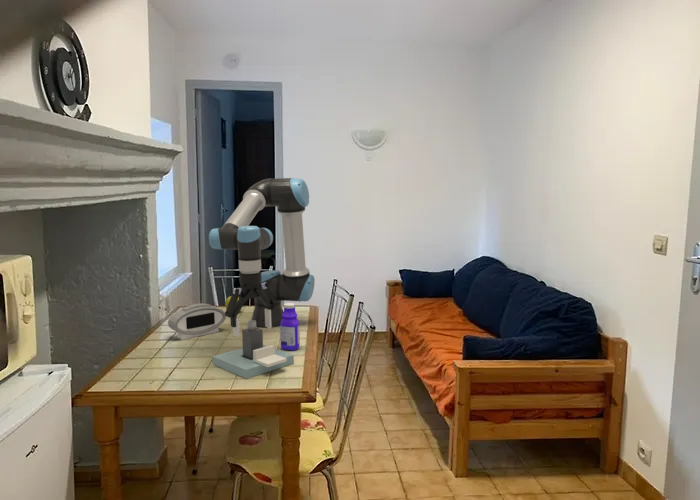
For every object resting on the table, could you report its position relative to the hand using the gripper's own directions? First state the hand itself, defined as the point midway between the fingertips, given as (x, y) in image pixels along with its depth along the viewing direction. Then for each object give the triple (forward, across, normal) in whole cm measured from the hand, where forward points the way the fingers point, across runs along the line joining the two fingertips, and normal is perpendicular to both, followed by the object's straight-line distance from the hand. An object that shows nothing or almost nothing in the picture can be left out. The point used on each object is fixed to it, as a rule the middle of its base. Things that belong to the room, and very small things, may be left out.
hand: (252, 331), depth 193 cm
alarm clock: (+12, -6, -47) cm, 49 cm away
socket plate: (+12, 0, 0) cm, 12 cm away
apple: (+13, -36, -67) cm, 77 cm away
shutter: (+8, 0, +10) cm, 13 cm away
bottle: (+12, -20, -4) cm, 23 cm away
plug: (+11, 0, 0) cm, 11 cm away
